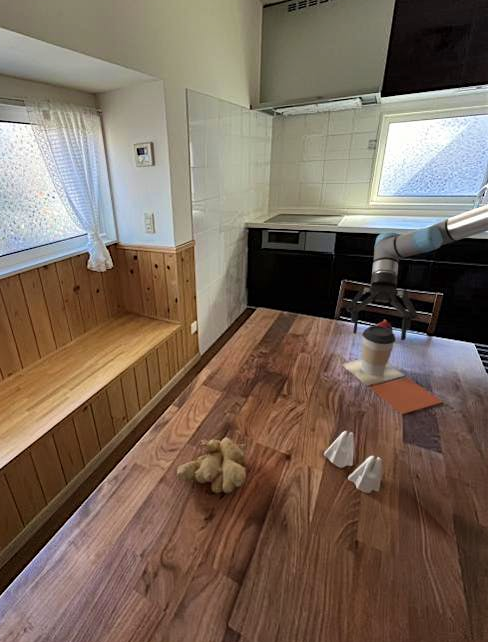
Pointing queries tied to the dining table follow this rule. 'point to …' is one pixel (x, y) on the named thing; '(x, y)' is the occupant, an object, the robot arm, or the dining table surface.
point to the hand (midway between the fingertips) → (378, 335)
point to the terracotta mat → (406, 395)
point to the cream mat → (370, 379)
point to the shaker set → (342, 456)
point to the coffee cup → (376, 349)
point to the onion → (385, 325)
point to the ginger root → (217, 466)
